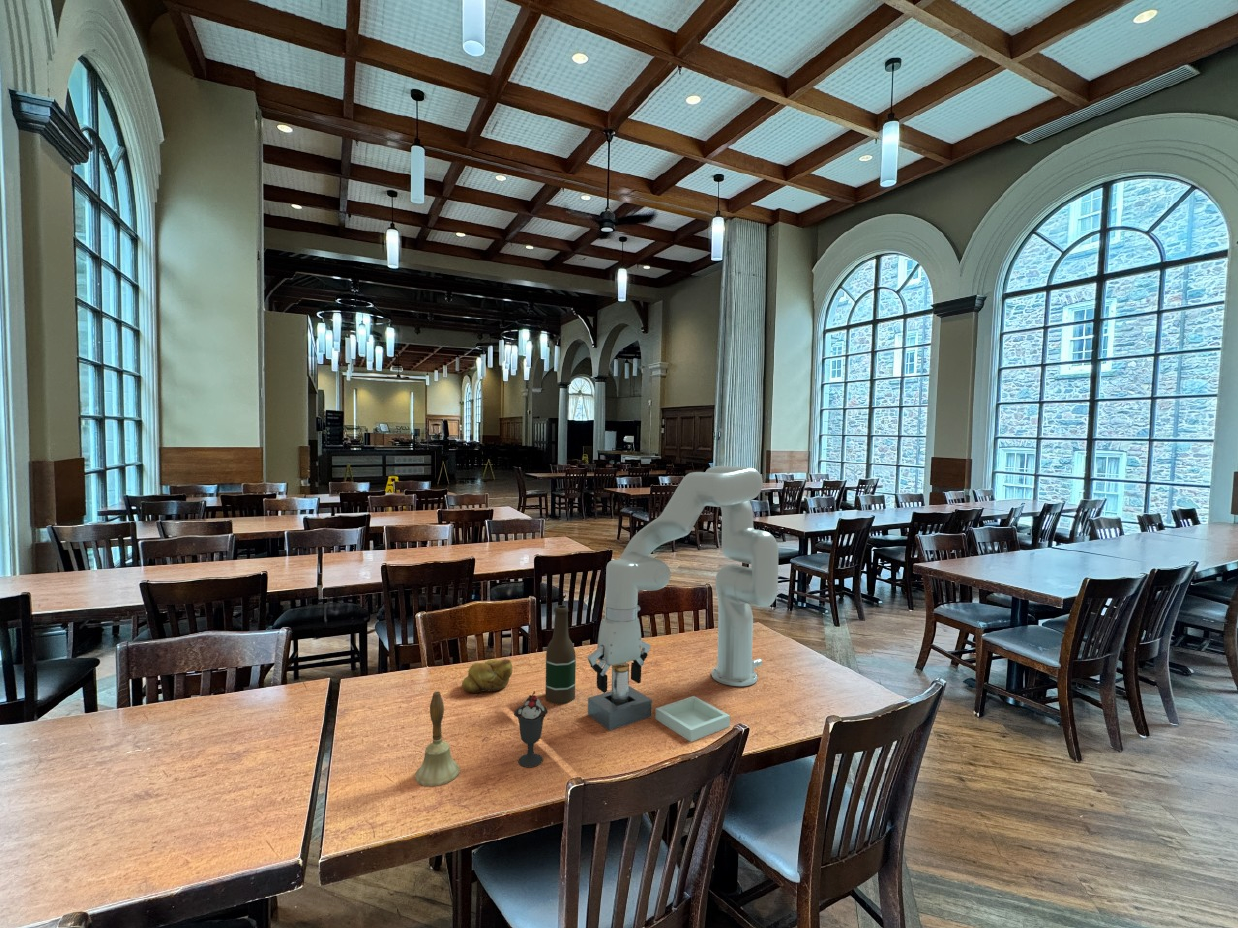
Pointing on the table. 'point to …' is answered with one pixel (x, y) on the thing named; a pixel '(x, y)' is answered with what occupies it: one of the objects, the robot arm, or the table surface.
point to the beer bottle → (560, 661)
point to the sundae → (530, 728)
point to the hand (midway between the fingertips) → (619, 685)
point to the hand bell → (437, 752)
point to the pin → (620, 684)
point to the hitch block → (619, 709)
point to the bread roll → (488, 676)
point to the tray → (692, 718)
